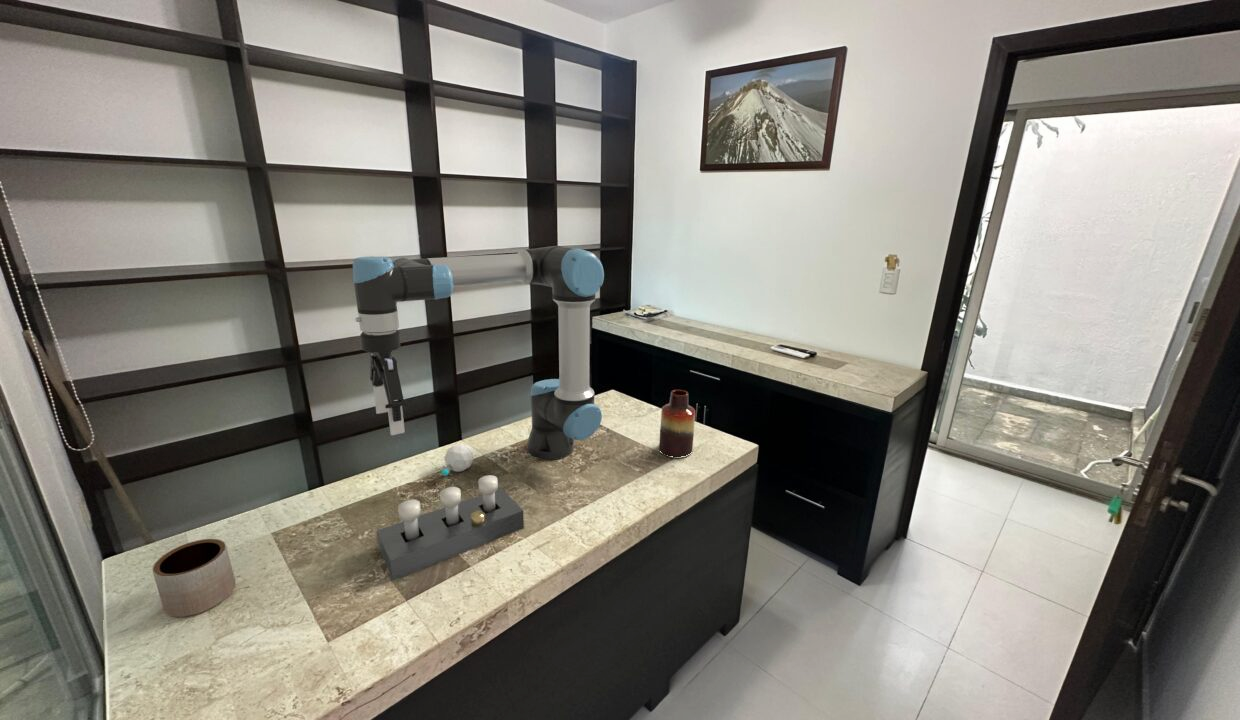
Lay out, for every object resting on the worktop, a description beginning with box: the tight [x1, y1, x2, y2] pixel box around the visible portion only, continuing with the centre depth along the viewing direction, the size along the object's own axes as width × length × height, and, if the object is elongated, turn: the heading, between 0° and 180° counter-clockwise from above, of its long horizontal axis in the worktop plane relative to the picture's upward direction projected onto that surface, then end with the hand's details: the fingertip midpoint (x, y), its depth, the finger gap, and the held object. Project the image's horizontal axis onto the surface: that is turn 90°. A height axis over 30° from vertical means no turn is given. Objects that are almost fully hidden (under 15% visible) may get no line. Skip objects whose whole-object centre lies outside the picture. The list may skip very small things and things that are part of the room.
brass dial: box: [471, 511, 485, 526], centre depth 112 cm, size 3×3×2 cm
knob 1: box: [397, 499, 422, 541], centre depth 107 cm, size 4×4×8 cm
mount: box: [376, 488, 525, 581], centre depth 114 cm, size 30×12×5 cm, turn 128°
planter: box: [152, 538, 236, 618], centre depth 94 cm, size 11×11×10 cm
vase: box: [658, 389, 696, 457], centre depth 157 cm, size 11×11×20 cm
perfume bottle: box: [441, 443, 474, 477], centre depth 142 cm, size 8×8×12 cm
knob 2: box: [477, 474, 499, 512], centre depth 117 cm, size 4×4×8 cm
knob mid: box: [439, 486, 462, 526], centre depth 112 cm, size 4×4×8 cm
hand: (389, 422), depth 110 cm, fingers open, 13 cm apart
